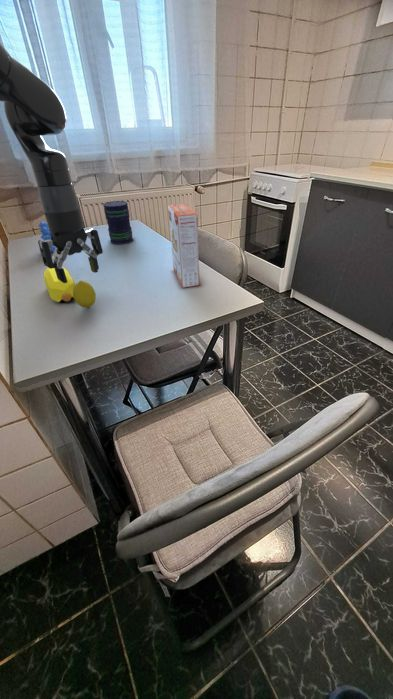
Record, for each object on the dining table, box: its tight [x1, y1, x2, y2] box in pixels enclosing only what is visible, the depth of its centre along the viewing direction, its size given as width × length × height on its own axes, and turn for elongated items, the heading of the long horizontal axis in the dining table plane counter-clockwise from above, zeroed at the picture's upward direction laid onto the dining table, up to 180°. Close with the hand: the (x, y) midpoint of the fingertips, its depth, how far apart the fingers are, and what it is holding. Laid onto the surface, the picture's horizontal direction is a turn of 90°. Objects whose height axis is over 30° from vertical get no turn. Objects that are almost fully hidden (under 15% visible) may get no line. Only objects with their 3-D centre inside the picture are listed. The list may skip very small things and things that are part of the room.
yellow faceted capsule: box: [43, 266, 76, 303], centre depth 87 cm, size 18×7×8 cm
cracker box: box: [167, 203, 200, 289], centre depth 89 cm, size 14×6×21 cm, turn 14°
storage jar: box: [103, 200, 134, 245], centre depth 124 cm, size 10×10×15 cm
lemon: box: [73, 280, 97, 309], centre depth 78 cm, size 6×6×8 cm
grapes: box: [38, 220, 56, 253], centre depth 116 cm, size 12×7×12 cm, turn 23°
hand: (80, 276), depth 75 cm, fingers open, 8 cm apart
